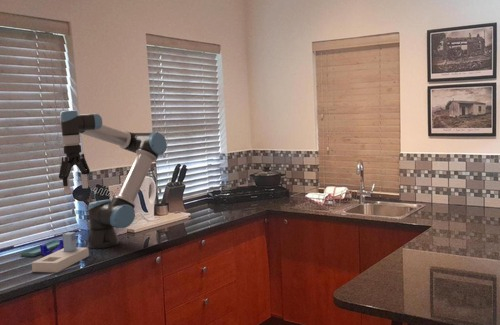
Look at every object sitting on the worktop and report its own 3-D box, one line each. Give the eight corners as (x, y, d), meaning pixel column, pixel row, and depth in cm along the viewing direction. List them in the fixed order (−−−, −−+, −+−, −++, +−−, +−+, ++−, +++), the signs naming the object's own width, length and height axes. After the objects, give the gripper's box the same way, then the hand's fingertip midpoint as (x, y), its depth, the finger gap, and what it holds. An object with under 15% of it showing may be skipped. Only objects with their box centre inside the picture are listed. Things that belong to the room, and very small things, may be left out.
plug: (70, 257, 227) (67, 232, 226) (79, 257, 226) (76, 232, 225) (64, 259, 223) (62, 234, 222) (74, 260, 222) (71, 234, 221)
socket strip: (66, 257, 231) (65, 247, 231) (89, 258, 228) (88, 247, 228) (32, 273, 208) (31, 262, 207) (57, 274, 205) (56, 263, 204)
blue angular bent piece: (46, 258, 232) (45, 246, 232) (41, 257, 235) (40, 245, 234) (68, 252, 242) (67, 240, 241) (63, 251, 244) (62, 239, 244)
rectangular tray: (55, 243, 262) (54, 238, 262) (69, 243, 260) (69, 239, 260) (19, 257, 238) (18, 252, 237) (35, 258, 235) (34, 253, 235)
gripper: (80, 142, 235) (85, 186, 237) (46, 147, 211) (52, 195, 213) (94, 142, 233) (98, 185, 235) (61, 146, 209) (67, 195, 211)
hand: (76, 190), depth 224 cm, fingers open, 13 cm apart
